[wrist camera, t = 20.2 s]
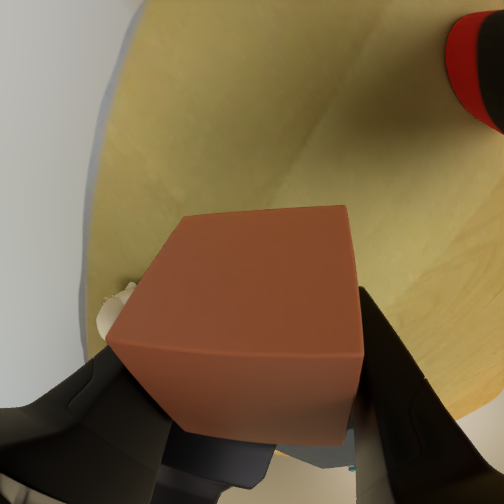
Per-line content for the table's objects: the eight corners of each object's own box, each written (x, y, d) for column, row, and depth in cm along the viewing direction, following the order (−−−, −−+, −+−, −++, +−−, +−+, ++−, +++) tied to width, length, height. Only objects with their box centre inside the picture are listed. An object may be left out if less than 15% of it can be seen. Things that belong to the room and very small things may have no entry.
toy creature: (108, 272, 28) (76, 317, 23) (179, 281, 26) (151, 336, 21) (122, 304, 30) (96, 348, 25) (188, 315, 29) (166, 367, 24)
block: (220, 321, 11) (184, 431, 7) (183, 215, 8) (102, 338, 5) (344, 322, 10) (343, 446, 6) (346, 203, 7) (364, 355, 4)
